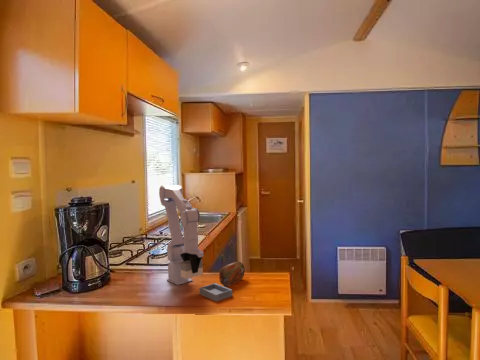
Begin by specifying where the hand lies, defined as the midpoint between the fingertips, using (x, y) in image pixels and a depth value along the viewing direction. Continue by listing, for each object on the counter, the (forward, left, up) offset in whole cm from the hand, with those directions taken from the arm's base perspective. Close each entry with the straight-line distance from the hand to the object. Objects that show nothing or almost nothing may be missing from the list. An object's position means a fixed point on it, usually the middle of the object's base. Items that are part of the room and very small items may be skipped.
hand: (191, 271), depth 143 cm
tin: (+4, +18, -8) cm, 20 cm away
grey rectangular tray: (+11, +4, -8) cm, 14 cm away
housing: (0, 0, -2) cm, 2 cm away
